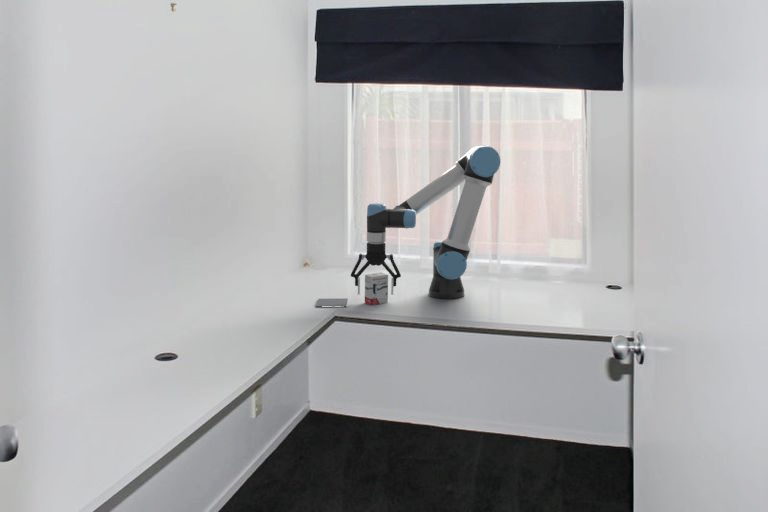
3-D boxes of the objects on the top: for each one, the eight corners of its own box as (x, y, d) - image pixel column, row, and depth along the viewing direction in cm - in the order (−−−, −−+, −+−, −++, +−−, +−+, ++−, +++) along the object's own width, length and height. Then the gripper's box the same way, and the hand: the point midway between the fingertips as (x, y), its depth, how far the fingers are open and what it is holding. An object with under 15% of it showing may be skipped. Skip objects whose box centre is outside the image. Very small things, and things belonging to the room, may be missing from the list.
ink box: (370, 305, 246) (370, 276, 243) (364, 303, 250) (364, 274, 248) (388, 302, 250) (388, 274, 248) (381, 300, 254) (381, 272, 252)
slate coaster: (347, 299, 255) (347, 298, 255) (346, 307, 243) (346, 305, 243) (318, 300, 255) (318, 298, 255) (315, 307, 243) (315, 306, 243)
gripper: (406, 241, 249) (405, 292, 253) (345, 240, 249) (345, 291, 253) (407, 244, 242) (406, 296, 246) (344, 243, 242) (344, 295, 245)
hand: (375, 294), depth 249 cm, fingers open, 13 cm apart
